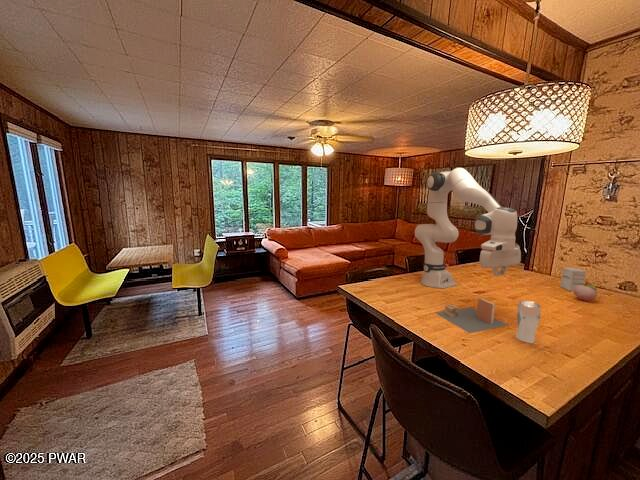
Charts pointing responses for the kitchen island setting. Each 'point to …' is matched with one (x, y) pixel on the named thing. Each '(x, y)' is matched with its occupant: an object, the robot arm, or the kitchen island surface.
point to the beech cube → (451, 310)
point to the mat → (471, 320)
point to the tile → (485, 310)
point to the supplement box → (572, 278)
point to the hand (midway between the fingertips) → (499, 275)
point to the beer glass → (527, 321)
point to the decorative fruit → (585, 291)
